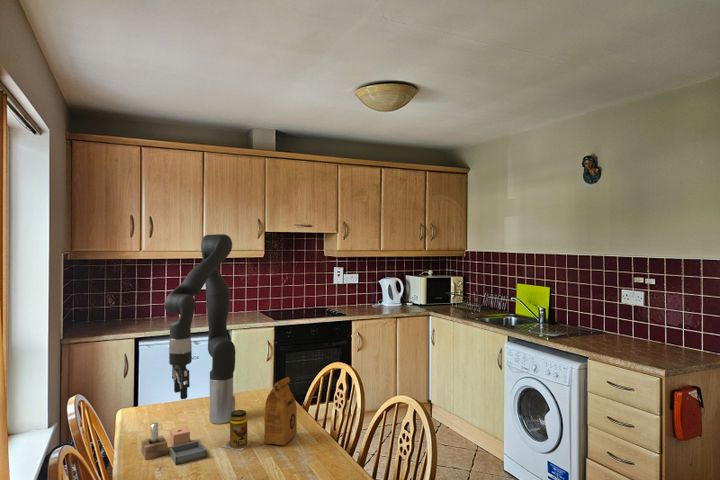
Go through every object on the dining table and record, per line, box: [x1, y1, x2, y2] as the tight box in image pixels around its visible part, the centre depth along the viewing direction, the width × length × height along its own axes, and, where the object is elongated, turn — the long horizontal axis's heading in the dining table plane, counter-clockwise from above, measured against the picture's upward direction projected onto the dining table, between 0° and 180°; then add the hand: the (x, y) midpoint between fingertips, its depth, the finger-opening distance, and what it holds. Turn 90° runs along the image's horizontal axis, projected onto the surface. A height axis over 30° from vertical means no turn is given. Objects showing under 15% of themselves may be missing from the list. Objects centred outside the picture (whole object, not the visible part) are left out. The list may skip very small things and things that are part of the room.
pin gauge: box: [150, 422, 159, 444], centre depth 167 cm, size 2×2×10 cm
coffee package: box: [263, 376, 298, 446], centre depth 178 cm, size 10×12×22 cm
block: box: [169, 426, 191, 447], centre depth 174 cm, size 6×6×5 cm
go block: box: [140, 435, 168, 460], centre depth 167 cm, size 7×7×4 cm
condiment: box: [220, 409, 252, 451], centre depth 174 cm, size 7×8×12 cm
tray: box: [168, 440, 207, 466], centre depth 165 cm, size 10×9×2 cm
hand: (180, 395), depth 174 cm, fingers open, 8 cm apart
